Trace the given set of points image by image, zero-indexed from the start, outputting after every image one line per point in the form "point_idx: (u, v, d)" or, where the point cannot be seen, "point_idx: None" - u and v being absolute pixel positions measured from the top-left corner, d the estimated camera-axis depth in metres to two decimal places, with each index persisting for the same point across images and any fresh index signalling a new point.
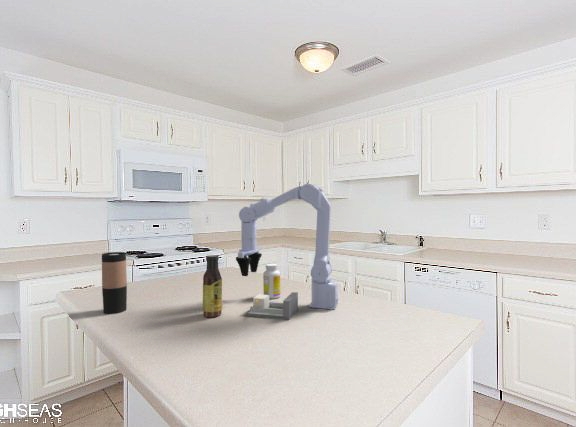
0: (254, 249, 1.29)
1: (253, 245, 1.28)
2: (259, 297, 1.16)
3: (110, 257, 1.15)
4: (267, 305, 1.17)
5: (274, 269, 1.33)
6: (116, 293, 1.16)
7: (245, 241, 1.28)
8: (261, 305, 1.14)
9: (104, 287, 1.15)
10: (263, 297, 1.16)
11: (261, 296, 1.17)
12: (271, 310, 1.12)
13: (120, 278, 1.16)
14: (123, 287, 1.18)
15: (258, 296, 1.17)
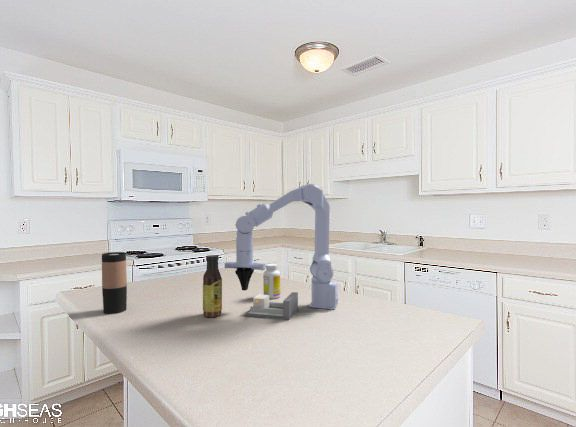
0: (239, 263, 1.16)
1: (238, 258, 1.16)
2: (259, 297, 1.16)
3: (110, 257, 1.15)
4: (267, 305, 1.17)
5: (274, 269, 1.33)
6: (116, 293, 1.16)
7: None
8: (261, 305, 1.14)
9: (104, 287, 1.15)
10: (263, 297, 1.16)
11: (261, 296, 1.17)
12: (271, 310, 1.12)
13: (120, 278, 1.16)
14: (123, 287, 1.18)
15: (258, 296, 1.17)
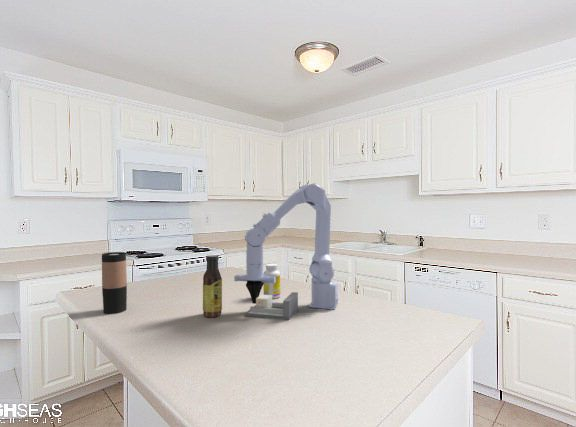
0: (249, 276, 1.15)
1: (248, 271, 1.15)
2: (262, 297, 1.16)
3: (110, 257, 1.15)
4: (270, 305, 1.17)
5: (274, 269, 1.33)
6: (116, 293, 1.16)
7: None
8: (264, 305, 1.14)
9: (104, 287, 1.15)
10: (266, 297, 1.16)
11: (264, 296, 1.17)
12: (271, 310, 1.12)
13: (120, 278, 1.16)
14: (123, 287, 1.18)
15: (261, 296, 1.17)
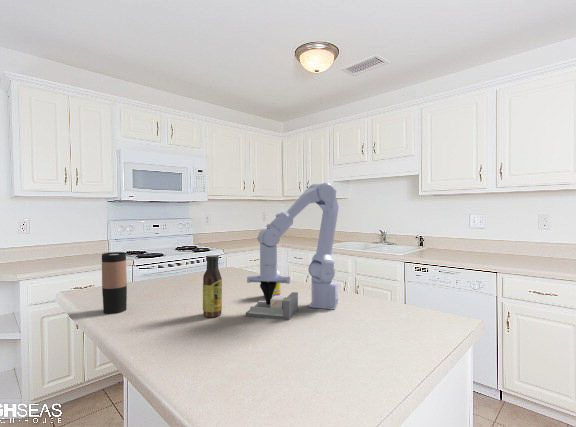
0: (264, 277, 1.13)
1: (263, 272, 1.14)
2: (276, 298, 1.14)
3: (110, 257, 1.15)
4: None
5: None
6: (116, 293, 1.16)
7: None
8: (278, 306, 1.13)
9: (104, 287, 1.15)
10: (280, 298, 1.14)
11: (278, 297, 1.15)
12: (271, 310, 1.12)
13: (120, 278, 1.16)
14: (123, 287, 1.18)
15: (275, 297, 1.15)
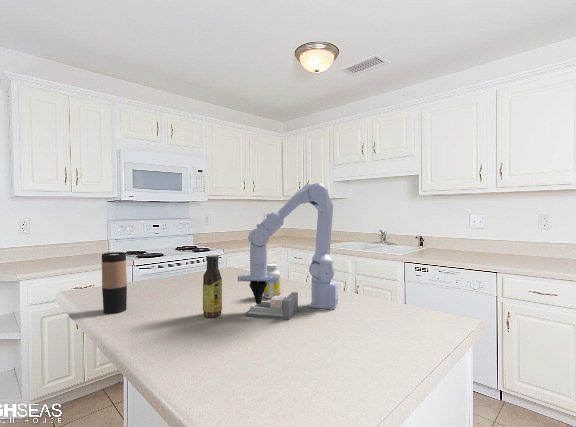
0: (253, 276, 1.15)
1: (252, 271, 1.15)
2: (276, 298, 1.14)
3: (110, 257, 1.15)
4: None
5: (274, 269, 1.33)
6: (116, 293, 1.16)
7: None
8: (279, 306, 1.13)
9: (104, 287, 1.15)
10: (280, 298, 1.14)
11: (278, 297, 1.15)
12: (271, 310, 1.12)
13: (120, 278, 1.16)
14: (123, 287, 1.18)
15: (275, 297, 1.15)
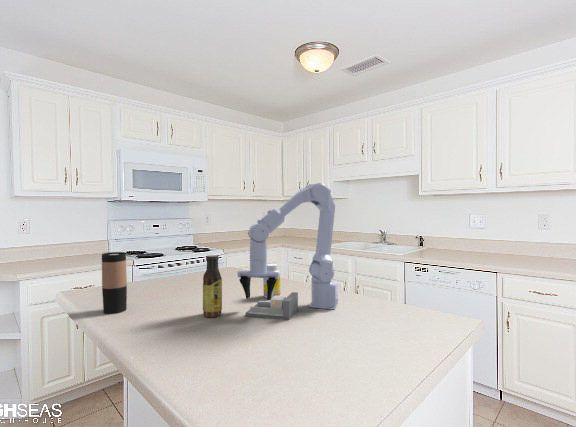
0: (253, 272, 1.15)
1: (252, 267, 1.15)
2: (276, 298, 1.14)
3: (110, 257, 1.15)
4: None
5: (274, 269, 1.33)
6: (116, 293, 1.16)
7: None
8: (279, 306, 1.13)
9: (104, 287, 1.15)
10: (280, 298, 1.14)
11: (278, 297, 1.15)
12: (271, 310, 1.12)
13: (120, 278, 1.16)
14: (123, 287, 1.18)
15: (275, 297, 1.15)
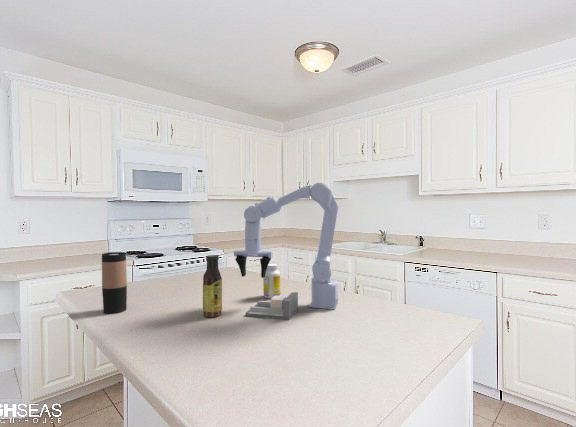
0: (247, 251, 1.22)
1: (247, 246, 1.22)
2: (276, 298, 1.14)
3: (110, 257, 1.15)
4: None
5: (274, 269, 1.33)
6: (116, 293, 1.16)
7: None
8: (279, 306, 1.13)
9: (104, 287, 1.15)
10: (280, 298, 1.14)
11: (278, 297, 1.15)
12: (271, 310, 1.12)
13: (120, 278, 1.16)
14: (123, 287, 1.18)
15: (275, 297, 1.15)
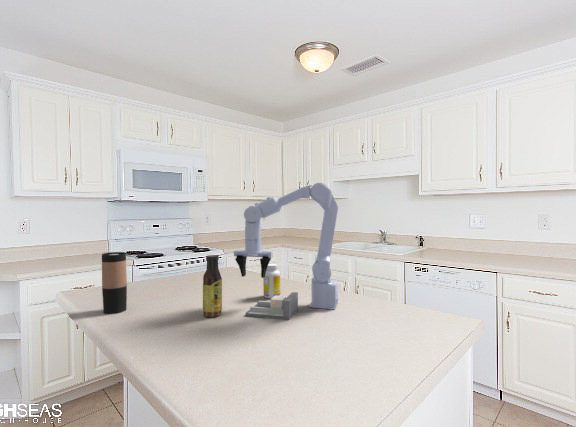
0: (247, 251, 1.22)
1: (247, 246, 1.22)
2: (276, 298, 1.14)
3: (110, 257, 1.15)
4: None
5: (274, 269, 1.33)
6: (116, 293, 1.16)
7: None
8: (279, 306, 1.13)
9: (104, 287, 1.15)
10: (280, 298, 1.14)
11: (278, 297, 1.15)
12: (271, 310, 1.12)
13: (120, 278, 1.16)
14: (123, 287, 1.18)
15: (275, 297, 1.15)
